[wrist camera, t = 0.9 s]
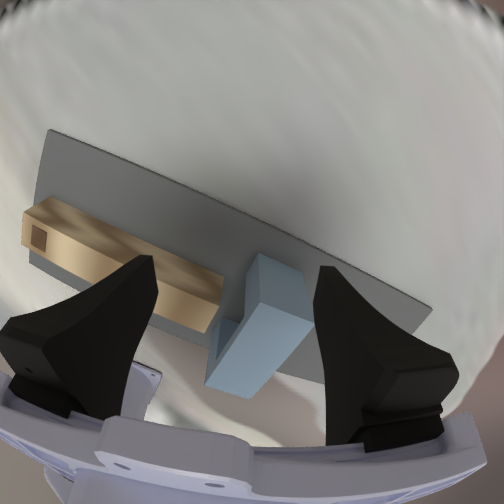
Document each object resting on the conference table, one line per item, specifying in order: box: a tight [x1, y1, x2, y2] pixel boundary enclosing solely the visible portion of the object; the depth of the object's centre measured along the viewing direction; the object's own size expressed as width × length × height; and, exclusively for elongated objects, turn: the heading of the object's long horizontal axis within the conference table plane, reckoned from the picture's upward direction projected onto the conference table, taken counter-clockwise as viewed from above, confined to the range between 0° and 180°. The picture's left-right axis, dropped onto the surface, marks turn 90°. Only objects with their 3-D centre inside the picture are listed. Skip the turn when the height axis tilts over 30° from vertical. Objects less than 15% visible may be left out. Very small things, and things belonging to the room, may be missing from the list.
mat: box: [29, 129, 433, 384], centre depth 25 cm, size 40×14×1 cm, turn 63°
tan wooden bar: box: [21, 196, 224, 333], centre depth 21 cm, size 17×3×4 cm, turn 63°
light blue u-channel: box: [204, 253, 315, 399], centre depth 22 cm, size 4×9×6 cm, turn 153°
